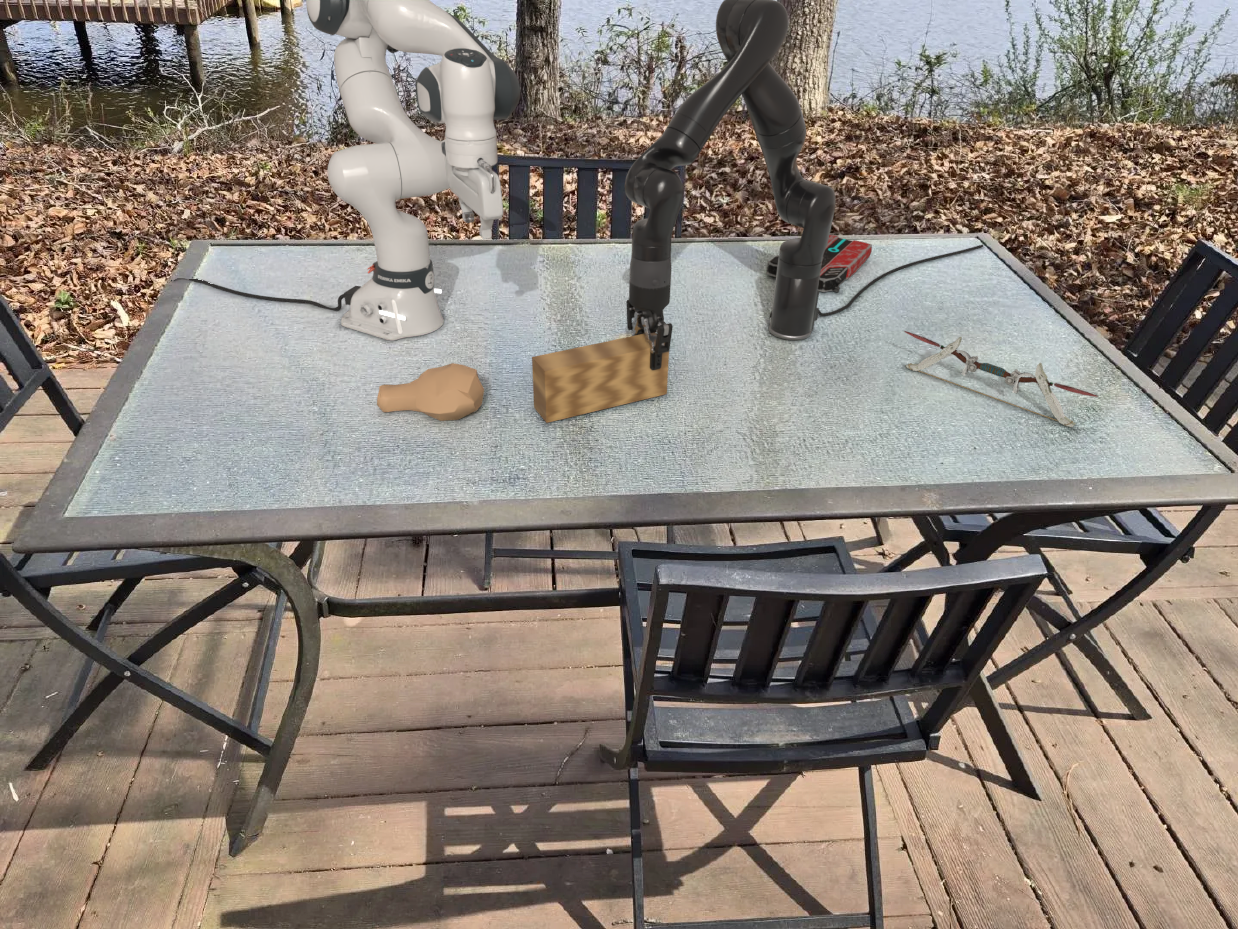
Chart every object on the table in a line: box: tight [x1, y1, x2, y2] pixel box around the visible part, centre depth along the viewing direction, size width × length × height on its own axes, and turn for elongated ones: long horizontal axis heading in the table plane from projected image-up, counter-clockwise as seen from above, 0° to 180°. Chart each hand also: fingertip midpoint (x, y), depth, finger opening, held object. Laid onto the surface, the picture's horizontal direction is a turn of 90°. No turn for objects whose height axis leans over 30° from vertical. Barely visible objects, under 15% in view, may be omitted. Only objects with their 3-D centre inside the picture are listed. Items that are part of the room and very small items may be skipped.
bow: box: [903, 330, 1099, 428], centre depth 171 cm, size 39×2×10 cm, turn 47°
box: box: [531, 332, 670, 424], centre depth 165 cm, size 25×6×11 cm, turn 117°
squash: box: [376, 362, 485, 422], centre depth 161 cm, size 11×20×9 cm, turn 90°
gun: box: [765, 233, 873, 293], centre depth 228 cm, size 4×31×19 cm
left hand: (477, 229), depth 161 cm, fingers open, 8 cm apart
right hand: (646, 361), depth 168 cm, fingers closed on box, 6 cm apart
